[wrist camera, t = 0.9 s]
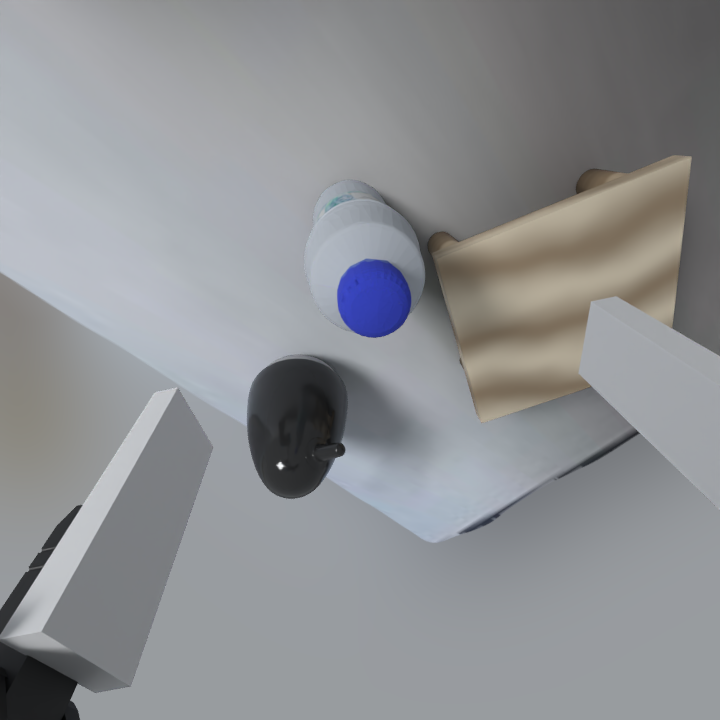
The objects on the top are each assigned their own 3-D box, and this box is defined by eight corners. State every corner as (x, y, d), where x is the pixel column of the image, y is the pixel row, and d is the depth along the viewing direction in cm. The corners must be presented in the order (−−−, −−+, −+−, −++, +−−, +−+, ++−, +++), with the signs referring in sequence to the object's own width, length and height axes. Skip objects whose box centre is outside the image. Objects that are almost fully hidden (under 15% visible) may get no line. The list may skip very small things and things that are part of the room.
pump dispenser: (364, 382, 42) (382, 492, 30) (297, 426, 45) (286, 543, 32) (307, 321, 38) (298, 421, 25) (235, 374, 40) (194, 488, 27)
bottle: (401, 215, 33) (484, 307, 16) (350, 268, 35) (374, 398, 18) (348, 155, 30) (379, 190, 13) (295, 216, 32) (263, 315, 15)
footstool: (414, 232, 34) (436, 259, 27) (612, 150, 31) (691, 156, 24) (457, 377, 43) (481, 423, 36) (611, 322, 41) (668, 361, 34)
